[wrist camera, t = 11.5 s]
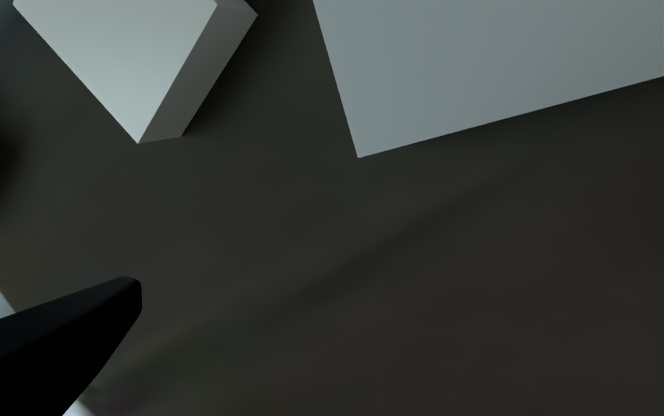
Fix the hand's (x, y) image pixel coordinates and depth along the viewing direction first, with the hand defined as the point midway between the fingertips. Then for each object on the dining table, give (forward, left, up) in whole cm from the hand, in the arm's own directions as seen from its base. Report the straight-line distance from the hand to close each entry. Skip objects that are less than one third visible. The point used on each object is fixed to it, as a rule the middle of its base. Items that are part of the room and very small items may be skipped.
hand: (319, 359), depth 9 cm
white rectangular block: (+17, -3, -11) cm, 21 cm away
